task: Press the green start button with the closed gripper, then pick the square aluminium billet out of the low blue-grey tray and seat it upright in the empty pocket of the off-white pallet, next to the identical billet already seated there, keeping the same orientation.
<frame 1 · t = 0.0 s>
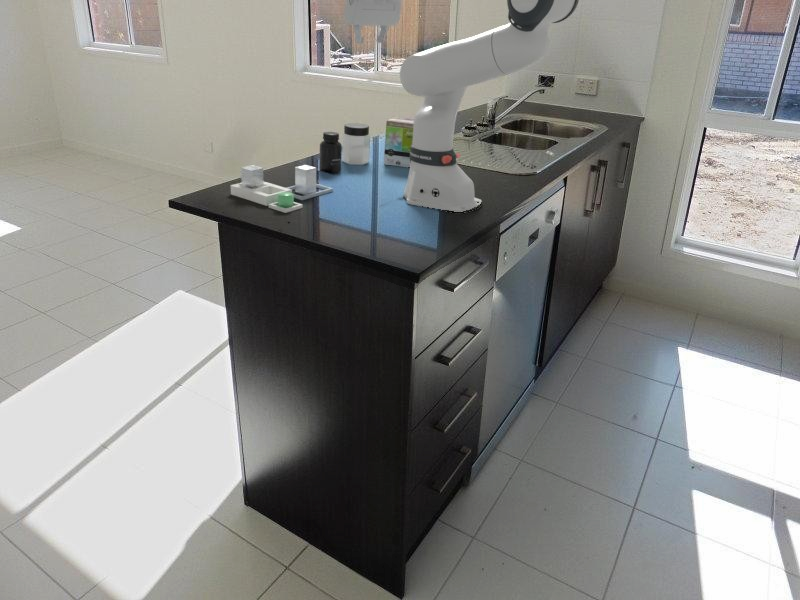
hand: (369, 42, 173), 39 cm above the counter, tool pointing down, fingers open, 8 cm apart
billet: (305, 192, 172), point 1 cm above the counter, touching tote
pallet: (261, 200, 166), on the counter
start button: (285, 200, 158), point 3 cm above the counter, slide at 0.0 cm
jar: (355, 162, 210), on the counter
supplement bottle: (330, 172, 197), on the counter
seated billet: (253, 193, 167), resting on pallet
button housing: (285, 211, 159), on the counter
tote: (305, 196, 172), on the counter
tea box: (408, 165, 211), on the counter
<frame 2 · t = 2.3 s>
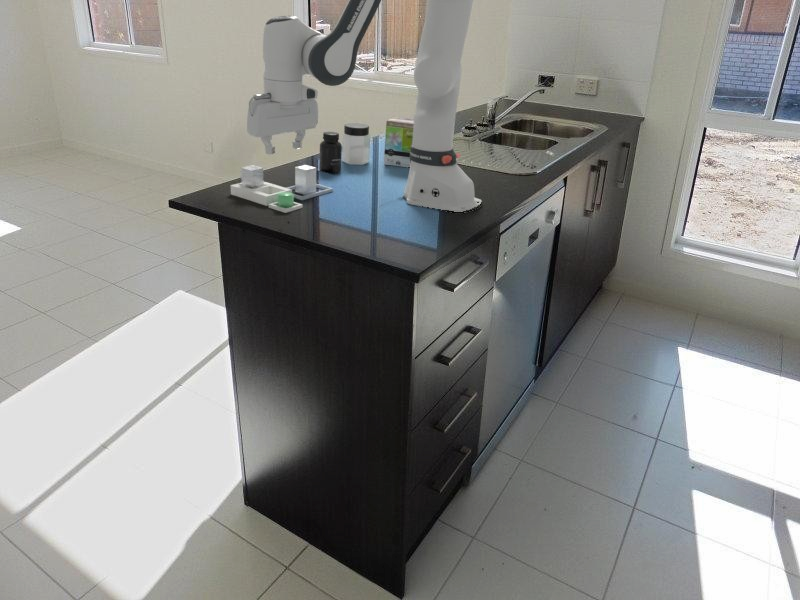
hand: (284, 151, 153), 15 cm above the counter, tool pointing down, fingers open, 8 cm apart
nothing on the counter moved.
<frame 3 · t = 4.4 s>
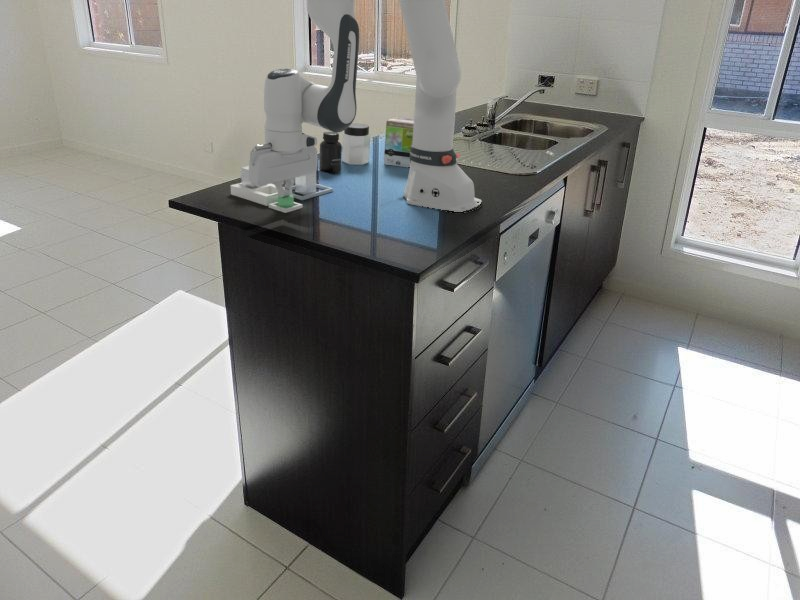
hand: (284, 196, 157), 4 cm above the counter, tool pointing down, fingers closed, pressing on start button
start button: (285, 202, 158), point 2 cm above the counter, slide at 0.5 cm, touching gripper
everything else where it was.
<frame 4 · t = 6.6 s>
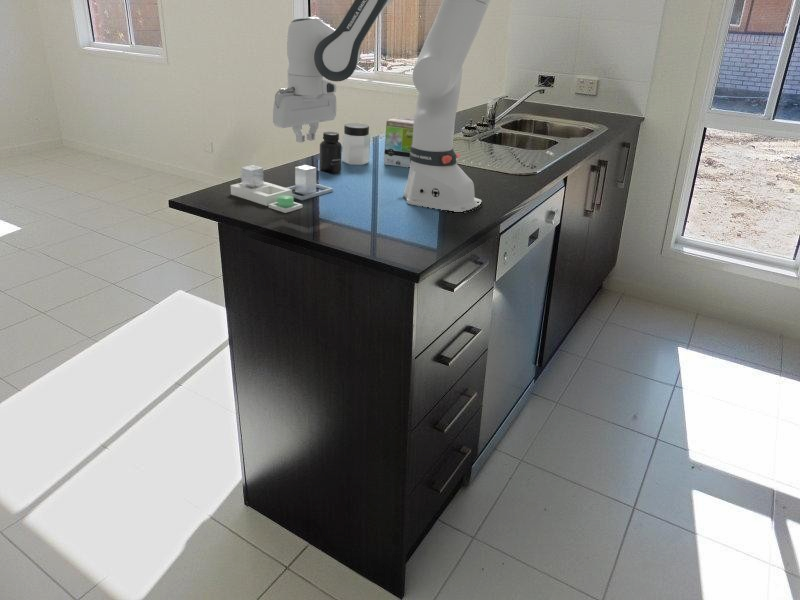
hand: (305, 141, 165), 15 cm above the counter, tool pointing down, fingers open, 3 cm apart
start button: (285, 203, 158), point 2 cm above the counter, slide at 0.8 cm
everything else where it was.
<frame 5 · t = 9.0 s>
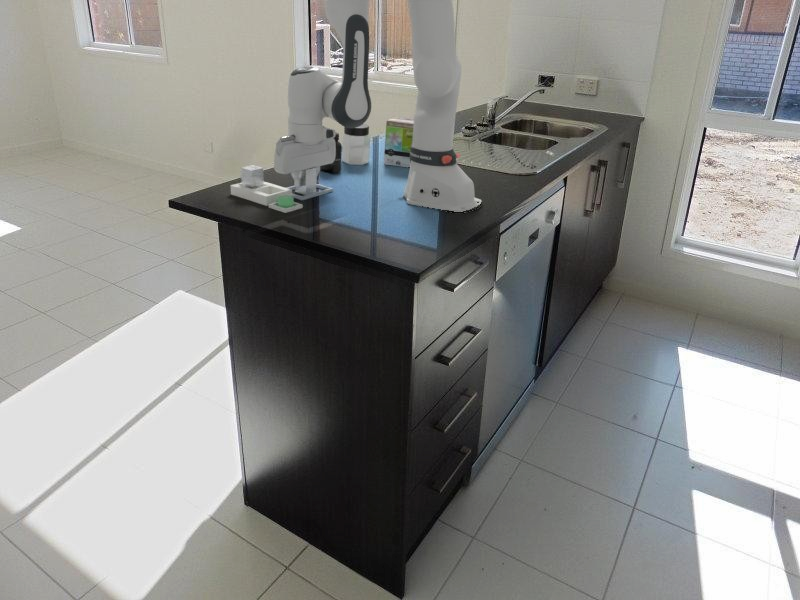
hand: (305, 184, 171), 3 cm above the counter, tool pointing down, fingers closed on billet, 4 cm apart
billet: (305, 192, 172), point 1 cm above the counter, touching gripper, tote
everything else where it was.
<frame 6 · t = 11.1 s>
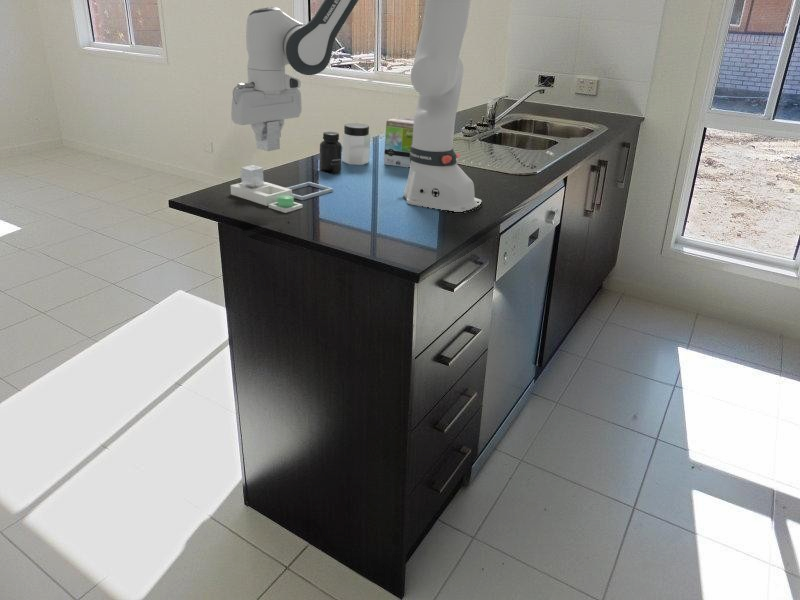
hand: (268, 139, 157), 17 cm above the counter, tool pointing down, fingers closed on billet, 4 cm apart
billet: (268, 148, 158), point 14 cm above the counter, touching gripper
everything else where it was.
when the fingers open (5 cm above the counter, at t = 13.5 s): billet drops 1 cm, resting on pallet.
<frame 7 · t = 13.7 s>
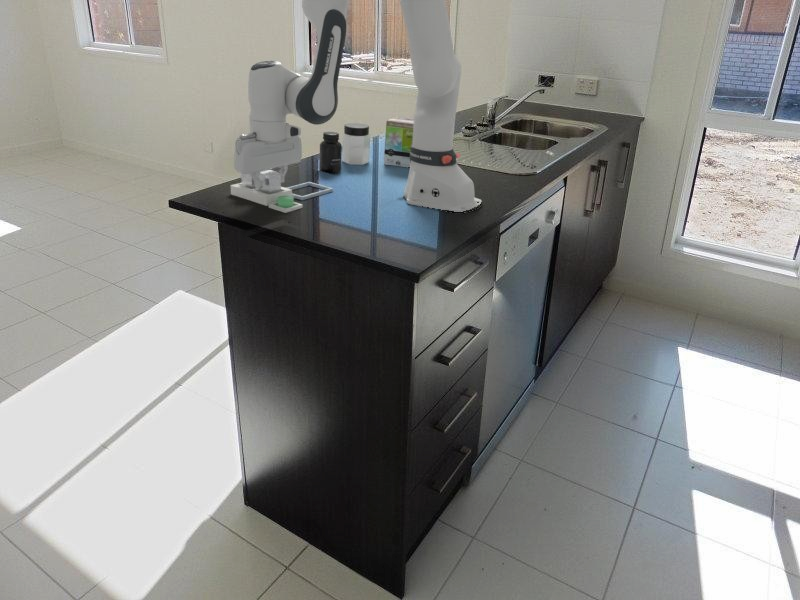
hand: (269, 184, 162), 5 cm above the counter, tool pointing down, fingers open, 6 cm apart
billet: (270, 198, 164), point 1 cm above the counter, touching pallet
everything else where it was.
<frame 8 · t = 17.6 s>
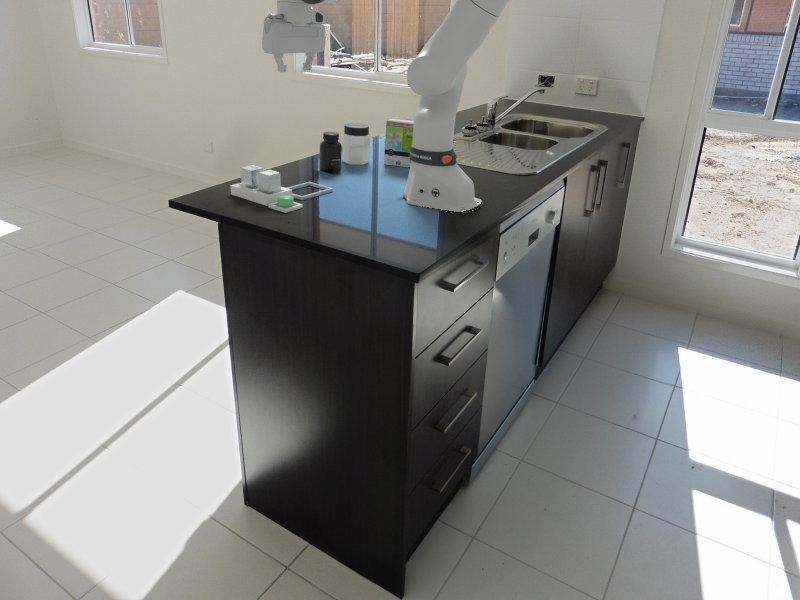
hand: (294, 71, 168), 31 cm above the counter, tool pointing down, fingers open, 8 cm apart
nothing on the counter moved.
at the end: billet 0.1 cm from the target spot on the pallet, point 1.2 cm above the pallet's base; billet tilted 0°; start button slide at 0.8 cm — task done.
